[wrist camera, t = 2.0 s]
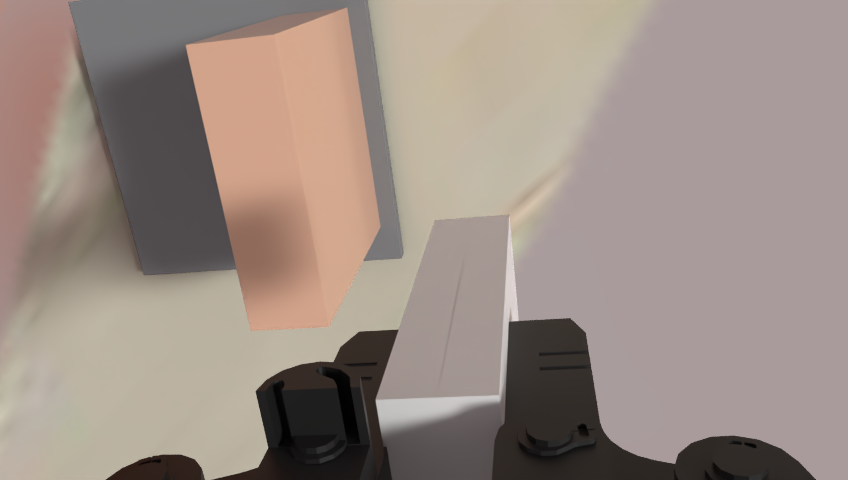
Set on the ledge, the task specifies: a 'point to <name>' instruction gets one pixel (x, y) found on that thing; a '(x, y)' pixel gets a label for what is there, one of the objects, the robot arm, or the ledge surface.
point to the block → (289, 162)
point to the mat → (197, 120)
